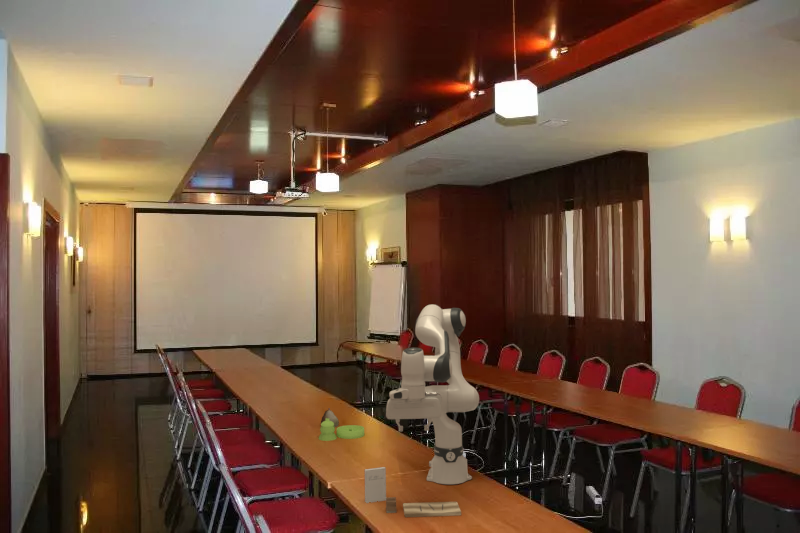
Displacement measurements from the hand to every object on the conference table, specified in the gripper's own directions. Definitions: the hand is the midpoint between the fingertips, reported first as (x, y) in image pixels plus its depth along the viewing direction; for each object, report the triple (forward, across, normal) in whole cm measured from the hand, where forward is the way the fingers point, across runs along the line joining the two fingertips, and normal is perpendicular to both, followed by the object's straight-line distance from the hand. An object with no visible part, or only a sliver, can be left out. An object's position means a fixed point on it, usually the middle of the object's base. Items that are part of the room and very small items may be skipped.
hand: (413, 430), depth 241 cm
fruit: (+25, +35, -132) cm, 139 cm away
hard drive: (+28, +14, -11) cm, 33 cm away
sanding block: (+29, +8, -1) cm, 30 cm away
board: (+28, -6, +2) cm, 29 cm away
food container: (+26, +29, -108) cm, 114 cm away
